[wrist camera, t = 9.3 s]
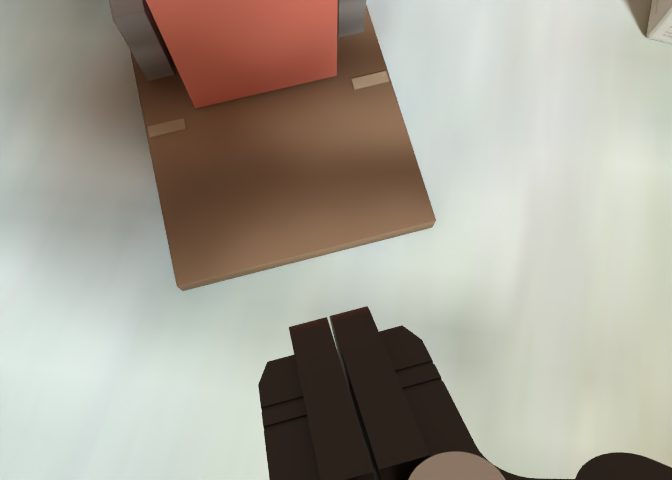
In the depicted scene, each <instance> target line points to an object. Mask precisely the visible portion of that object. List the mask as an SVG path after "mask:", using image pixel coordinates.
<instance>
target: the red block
mask: <svg viewBox="0 0 672 480" xmlns="http://www.w3.org/2000/svg"><path fill="white" fill-rule="evenodd" d="M146 2H147V4H148V6H149V8H150V10H151V13H152V15H153V17H154V19H155V21H156V24H157V26H158V28H159V30H160V32H161V35H162V37H163V39H164V41H165V43H166V45H167V48H168V50H169V52H170V54H171V56H172V59H173V61H174V63H175V65H176V67H177V70H178V72H179V74H180V76H181V78H182V81H183V83H184V85H185V87H186V89H187V92H188V94H189V96H190V98H191V100H192V102H193V105H194V107H195V109H196V108H200V107H204V106H209V105H213V104H217V103H221V102H226V101H230V100H234V99H239V98H243V97H247V96H251V95H256V94H260V93H264V92H269V91H273V90H277V89H281V88H286V87H290V86H294V85H299V84H303V83H307V82H311V81H316V80H320V79H324V78H329V77H333V76H337V16H338V0H146Z"/></svg>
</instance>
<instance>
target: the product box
mask: <svg viewBox="0 0 672 480" xmlns="http://www.w3.org/2000/svg"><path fill="white" fill-rule="evenodd" d="M647 37H648V38H651V39H654V40H658V41H662V42H665V43H669V44H672V0H652V4H651V10H650V16H649V22H648V29H647Z"/></svg>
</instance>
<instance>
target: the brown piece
mask: <svg viewBox="0 0 672 480" xmlns="http://www.w3.org/2000/svg"><path fill="white" fill-rule="evenodd" d="M109 1H110V7H111V12H112V17H113V20H114V22H115V23H116V25H117V27H118V29H119V31H120V32H121V34H122V36H123V38H124V39H125V41H126V43H127V45H128V47H129V48H130V52H131V57H132V62H133V67H134V72H135V77H136V82H137V87H138V92H139V97H140V102H141V107H142V112H143V117H144V122H145V128H146V133H147V138H148V143H149V148H150V153H151V158H152V163H153V168H154V173H155V178H156V183H157V188H158V193H159V198H160V203H161V208H162V214H163V219H164V224H165V229H166V234H167V239H168V244H169V249H170V254H171V259H172V264H173V269H174V274H175V279H176V284H177V287H178V288H180V289H181V290H182V291H184V290H188V289H192V288H196V287H200V286H204V285H208V284H212V283H216V282H220V281H224V280H227V279H231V278H235V277H239V276H243V275H247V274H251V273H255V272H259V271H263V270H267V269H271V268H275V267H278V266H282V265H286V264H290V263H294V262H298V261H302V260H306V259H310V258H314V257H318V256H322V255H325V254H329V253H333V252H337V251H341V250H345V249H349V248H353V247H357V246H361V245H365V244H369V243H373V242H376V241H380V240H384V239H388V238H392V237H396V236H400V235H404V234H408V233H412V232H416V231H420V230H424V229H427V228H431V227H433V225H434V223H435V221H436V219H435V216H434V213H433V210H432V207H431V203H430V200H429V197H428V194H427V191H426V188H425V185H424V182H423V179H422V176H421V173H420V169H419V166H418V163H417V160H416V157H415V154H414V151H413V148H412V145H411V142H410V139H409V135H408V132H407V129H406V126H405V123H404V120H403V117H402V114H401V111H400V108H399V105H398V101H397V98H396V95H395V92H394V89H393V86H392V83H391V80H390V77H389V74H388V71H387V67H386V64H385V61H384V58H383V55H382V52H381V49H380V46H379V43H378V40H377V36H376V33H375V30H374V27H373V24H372V21H371V18H370V15H369V12H368V9H367V6H366V0H338V16H337V76H333V77H329V78H324V79H320V80H316V81H311V82H307V83H303V84H299V85H294V86H290V87H286V88H281V89H277V90H273V91H269V92H264V93H260V94H256V95H251V96H247V97H243V98H239V99H234V100H230V101H226V102H221V103H217V104H213V105H209V106H204V107H200V108H196V109H195V107H194V105H193V102H192V100H191V98H190V96H189V94H188V92H187V89H186V87H185V85H184V83H183V81H182V78H181V76H180V74H179V72H178V70H177V67H176V65H175V63H174V61H173V59H172V56H171V54H170V52H169V50H168V48H167V45H166V43H165V41H164V39H163V37H162V35H161V32H160V30H159V28H158V26H157V24H156V21H155V19H154V17H153V15H152V13H151V10H150V8H149V6H148V4H147V2H146V0H109Z"/></svg>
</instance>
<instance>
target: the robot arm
mask: <svg viewBox="0 0 672 480" xmlns="http://www.w3.org/2000/svg"><path fill="white" fill-rule="evenodd" d="M330 321H331V325H332V330H333V334H334V338H335V342H334V339H333V336H332V333H331V329H330V326H329V323H328V320H327V317H326V318H322V319H318V320H314V321H310V322H307V323H303V324H299V325H295V326H292V327H289V330H290V335H291V340H292V345H293V350H294V355H291V356H288V357H284V358H280V359H276V360H273V361H269V362H267V364H266V367H265V369H264V372H263V374H262V377H261V379H260V382H259V384H258V385H259V394H260V402H261V409H262V419H263V427H264V436H265V444H266V452H267V461H268V469H269V478H270V480H672V468H671V467H669V466H666V465H664V464H662V463H659V462H657V461H654V460H652V459H649V458H646V457H644V456H641V455H636V454H632V453H622V452H621V453H608V454H603V455H600V456H597V457H595V458H593V459H591V460H589V461H588V462H587V463H586V464H584V465H583V466H582V468H581V469H580V470H579V472H578V474H577V476H576V478H575V479H535V478H526V477H521V476H517V475H514V474H511V473H508V472H506V471H504V470H502V469H499V468H498V467H496V466H495V465H493V464H492V463H491V462H489V461H488V460H487V459H486V458H485V457H484V456H483V455H482V454H481V453H480V451H479V450H478V448H477V447H476V445H475V443H474V441H473V439H472V437H471V435H470V433H469V431H468V429H467V427H466V425H465V423H464V422H463V420H462V418H461V416H460V414H459V412H458V410H457V408H456V406H455V404H454V402H453V400H452V398H451V396H450V394H449V392H448V390H447V388H446V386H445V384H444V382H442V380H441V376H440V374H439V372H438V370H437V368H436V367H435V365H434V364H433V361H432V359H431V357H430V355H429V353H428V351H427V349H426V347H425V345H424V343H423V341H422V340H421V339H420V338H419V337H417V336H416V335H414V334H413V333H412V332H410V331H409V330H408V329H406V328H405V327H404V326H399V327H395V328H391V329H387V330H384V331H380V332H378V329H377V327H376V325H375V322H374V320H373V317H372V315H371V313H370V310H369V308H368V307H367V306H366V307H363V308H359V309H355V310H351V311H348V312H344V313H340V314H336V315H332V316H330ZM335 343H336V346H335ZM336 347H337V349H336Z"/></svg>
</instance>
